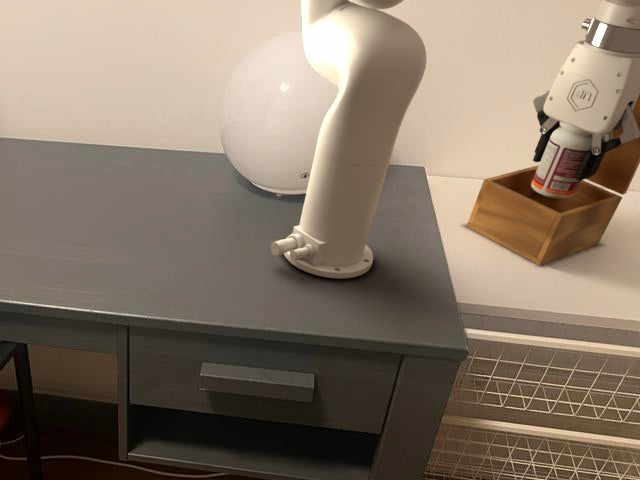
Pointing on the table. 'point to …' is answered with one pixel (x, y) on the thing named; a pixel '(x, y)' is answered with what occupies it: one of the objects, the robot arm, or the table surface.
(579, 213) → the chest
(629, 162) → the lid
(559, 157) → the pill bottle
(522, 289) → the table surface
